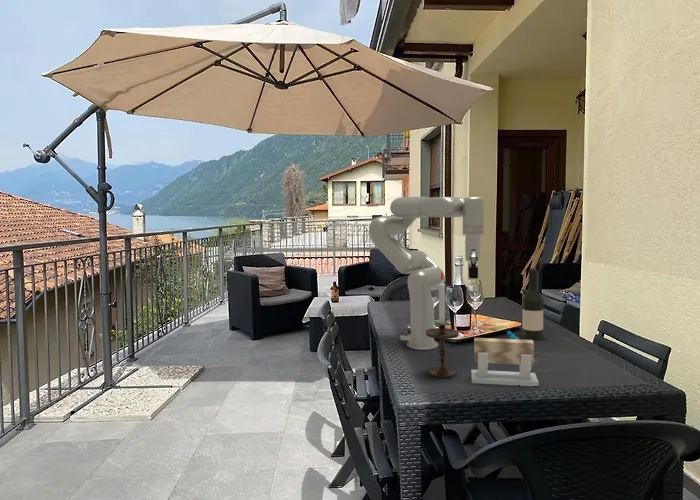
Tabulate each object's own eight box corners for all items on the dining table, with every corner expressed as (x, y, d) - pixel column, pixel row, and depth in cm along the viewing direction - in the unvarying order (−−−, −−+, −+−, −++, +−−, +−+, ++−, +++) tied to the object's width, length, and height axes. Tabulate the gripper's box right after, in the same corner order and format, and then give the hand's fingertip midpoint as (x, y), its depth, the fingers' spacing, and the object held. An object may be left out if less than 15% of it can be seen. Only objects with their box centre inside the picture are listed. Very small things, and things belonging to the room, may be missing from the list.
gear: (527, 350, 186) (508, 330, 189) (515, 360, 188) (496, 340, 191) (529, 347, 196) (510, 328, 199) (518, 356, 198) (500, 337, 201)
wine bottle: (521, 339, 208) (522, 269, 206) (522, 335, 216) (523, 267, 214) (542, 341, 205) (543, 269, 203) (543, 336, 213) (543, 267, 211)
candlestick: (436, 366, 174) (435, 268, 171) (464, 372, 167) (464, 269, 165) (420, 375, 166) (419, 271, 163) (449, 381, 159) (448, 273, 156)
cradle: (471, 383, 157) (471, 353, 156) (471, 374, 165) (471, 346, 165) (538, 386, 152) (538, 356, 152) (534, 377, 161) (534, 348, 160)
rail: (474, 362, 159) (474, 340, 158) (474, 358, 163) (474, 337, 162) (533, 365, 154) (533, 343, 154) (532, 361, 158) (532, 340, 158)
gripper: (462, 229, 191) (462, 273, 192) (462, 231, 174) (462, 279, 175) (482, 229, 189) (482, 273, 191) (484, 231, 173) (484, 279, 174)
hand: (473, 276), depth 183 cm, fingers open, 9 cm apart
